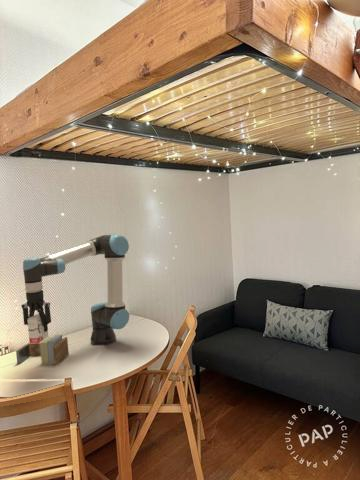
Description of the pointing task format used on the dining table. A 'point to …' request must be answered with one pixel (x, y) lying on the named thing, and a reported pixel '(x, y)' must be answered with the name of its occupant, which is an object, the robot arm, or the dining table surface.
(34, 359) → the dining table surface
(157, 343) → the dining table surface
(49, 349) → the book
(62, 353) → the shelf
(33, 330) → the ink box
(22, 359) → the bookend
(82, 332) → the dining table surface
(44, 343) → the book
